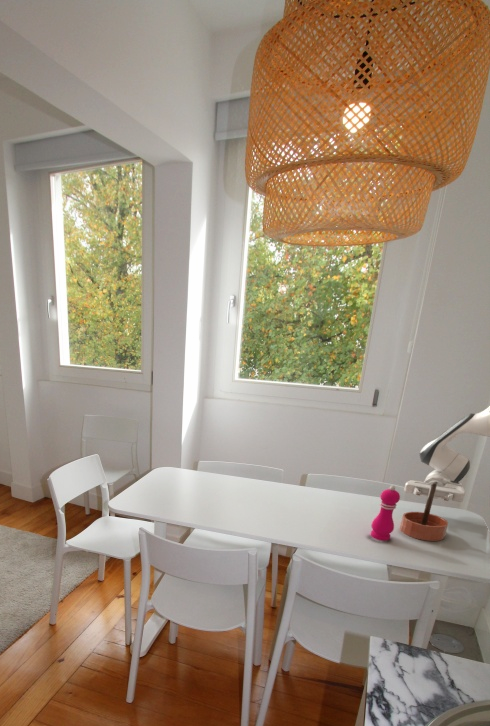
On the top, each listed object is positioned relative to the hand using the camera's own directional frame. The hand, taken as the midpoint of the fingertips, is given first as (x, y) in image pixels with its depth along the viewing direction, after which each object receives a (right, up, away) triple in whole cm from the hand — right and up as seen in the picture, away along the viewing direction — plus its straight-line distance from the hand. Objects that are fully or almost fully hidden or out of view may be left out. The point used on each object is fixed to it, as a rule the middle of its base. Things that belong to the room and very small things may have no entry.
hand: (431, 496), depth 176 cm
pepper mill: (-24, -15, -8) cm, 29 cm away
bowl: (-6, -14, -4) cm, 16 cm away
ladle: (-6, -14, -4) cm, 16 cm away
